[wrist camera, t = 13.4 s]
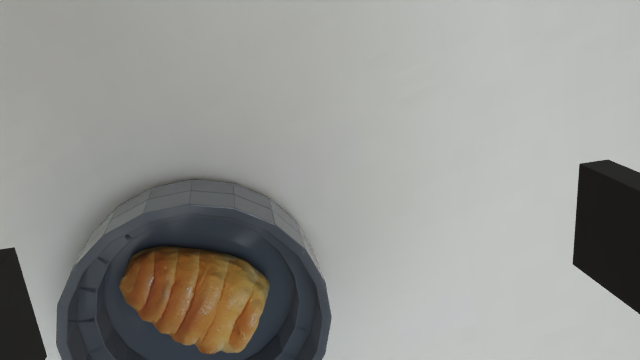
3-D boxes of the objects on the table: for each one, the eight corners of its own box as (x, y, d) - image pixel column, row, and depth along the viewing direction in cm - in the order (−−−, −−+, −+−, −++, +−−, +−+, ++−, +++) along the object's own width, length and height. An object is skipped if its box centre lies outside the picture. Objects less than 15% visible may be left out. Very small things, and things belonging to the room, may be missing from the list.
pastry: (109, 305, 37) (97, 336, 34) (145, 218, 36) (137, 241, 32) (238, 345, 40) (240, 378, 36) (276, 265, 39) (282, 291, 35)
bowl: (75, 384, 39) (53, 441, 34) (83, 165, 35) (59, 193, 30) (299, 388, 43) (310, 440, 37) (331, 188, 38) (349, 217, 33)
